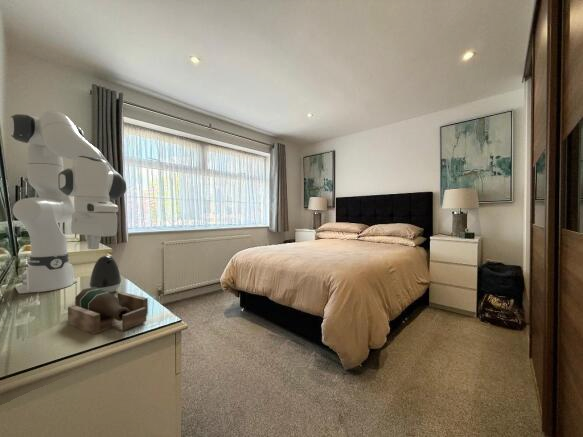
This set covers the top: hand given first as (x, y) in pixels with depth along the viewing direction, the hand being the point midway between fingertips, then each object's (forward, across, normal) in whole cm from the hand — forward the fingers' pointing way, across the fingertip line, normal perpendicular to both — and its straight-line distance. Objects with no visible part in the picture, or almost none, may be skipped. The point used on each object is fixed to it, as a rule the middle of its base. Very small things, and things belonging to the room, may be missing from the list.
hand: (93, 249), depth 78 cm
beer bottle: (+17, -4, 0) cm, 17 cm away
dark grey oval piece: (+21, -19, +13) cm, 31 cm away
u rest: (+21, +12, 0) cm, 24 cm away
